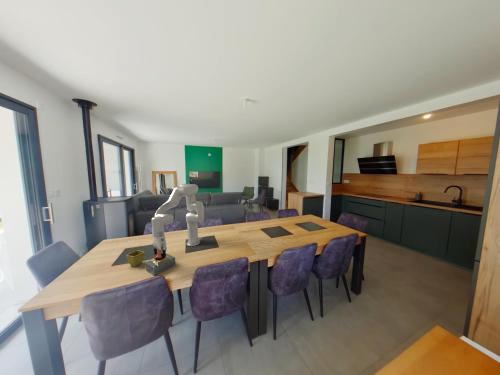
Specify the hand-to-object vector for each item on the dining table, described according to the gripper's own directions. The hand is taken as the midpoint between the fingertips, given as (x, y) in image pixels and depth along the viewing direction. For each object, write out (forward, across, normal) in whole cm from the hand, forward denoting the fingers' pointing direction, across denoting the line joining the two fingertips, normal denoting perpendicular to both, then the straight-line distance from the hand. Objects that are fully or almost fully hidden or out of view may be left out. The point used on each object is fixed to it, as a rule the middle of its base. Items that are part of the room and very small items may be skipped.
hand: (160, 255), depth 125 cm
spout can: (+7, 0, -1) cm, 7 cm away
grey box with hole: (+9, 0, 0) cm, 9 cm away
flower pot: (+10, +21, +8) cm, 24 cm away
